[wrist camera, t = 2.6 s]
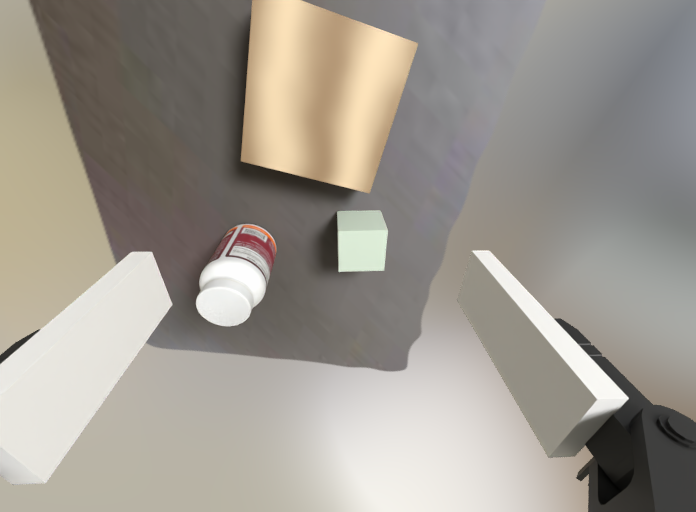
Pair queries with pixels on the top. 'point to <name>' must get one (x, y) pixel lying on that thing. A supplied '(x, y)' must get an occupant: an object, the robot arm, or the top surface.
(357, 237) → the sage cube
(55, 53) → the top surface
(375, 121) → the oak block
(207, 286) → the pill bottle
